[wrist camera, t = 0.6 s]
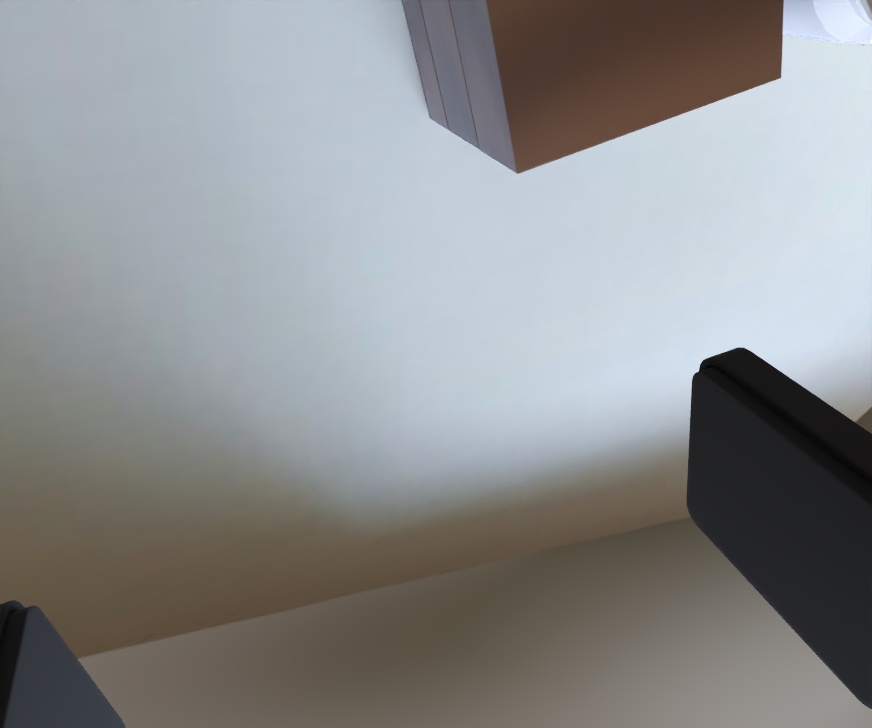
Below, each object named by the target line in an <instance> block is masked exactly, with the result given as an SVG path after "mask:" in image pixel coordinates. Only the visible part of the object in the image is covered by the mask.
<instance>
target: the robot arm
mask: <svg viewBox="0 0 872 728" xmlns="http://www.w3.org/2000/svg"><path fill="white" fill-rule="evenodd" d="M687 507H688V511H689V513H690V516H691V518H692V519H693V521H694V522H695V524H696V525H697V526H698V527H699V528H700V529H701V530H702V531H703V533H704V534H705V535H706V536H707V537H708V538H709V539H710V540H711V541H712V542H713V543H714V545H715V546H716V547H717V548H718V549H719V550H720V551H721V552H722V553H723V554H724V555H725V556H726V557H727V558H728V560H729V561H731V563H732V564H733V565H734V566H735V567H736V568H737V569H738V570H739V571H740V573H741V574H742V575H743V576H744V577H745V578H746V579H747V580H748V581H749V582H750V583H751V584H752V585H753V587H755V589H756V590H757V591H758V592H759V593H760V594H761V595H762V596H763V597H764V598H765V600H766V601H767V602H768V603H769V604H770V605H771V606H772V607H773V608H774V609H775V610H776V611H777V612H778V614H779V615H780V616H782V618H783V619H784V620H785V621H786V622H787V623H788V624H789V625H790V626H791V628H792V629H793V630H795V632H796V633H797V634H798V635H799V636H800V637H801V638H802V639H803V640H804V642H805V643H806V644H807V645H808V646H809V647H810V648H811V649H812V650H813V651H814V652H815V653H816V655H818V657H819V658H820V659H821V660H822V661H823V662H824V663H825V664H826V665H827V666H828V667H829V668H830V670H832V672H833V673H834V674H835V675H836V676H837V677H838V678H839V679H840V680H841V681H842V683H843V684H844V685H845V686H846V687H847V688H848V689H849V690H850V691H851V692H852V693H853V694H854V695H855V696H856V698H857V699H858V700H860V701H861V702H862V703H863V704H864V705H865V706H867V707H869V708H871V709H872V434H871V433H870V432H868V431H867V430H865V429H864V428H862V427H861V426H859V425H858V424H856V423H855V422H853V421H852V420H850V419H849V418H848V417H846V416H845V415H843V414H842V413H840V412H839V411H837V410H836V409H834V408H833V407H831V406H830V405H828V404H827V403H826V402H824V401H823V400H821V399H820V398H818V397H817V396H815V395H814V394H812V393H811V392H809V391H808V390H807V389H805V388H804V387H802V386H801V385H799V384H798V383H796V382H795V381H793V380H792V379H790V378H789V377H787V376H786V375H785V374H783V373H782V372H780V371H779V370H777V369H776V368H774V367H773V366H771V365H770V364H768V363H767V362H765V361H764V360H763V359H761V358H760V357H758V356H757V355H755V354H754V353H752V352H751V351H749V350H747V349H745V348H736V349H733V350H730V351H727V352H724V353H721V354H718V355H715V356H713V357H710V358H707V359H705V360H703V361H702V363H701V365H700V369H699V372H697V373H695V374H694V376H693V380H692V396H691V417H690V438H689V460H688V481H687ZM0 728H126V727H125V725H124V723H123V721H122V719H121V718H120V717H119V715H118V714H117V713H116V711H115V710H114V708H113V707H112V706H111V704H110V703H109V702H108V700H107V699H106V698H105V696H104V695H103V693H102V692H101V691H100V689H99V688H98V687H97V685H96V684H95V683H94V681H93V680H92V679H91V677H90V676H89V674H88V673H87V672H86V670H85V669H84V668H83V666H82V665H81V664H80V662H79V661H78V659H77V658H76V657H75V655H74V654H73V653H72V651H71V650H70V649H69V647H68V646H67V644H66V643H65V642H64V640H63V639H62V638H61V636H60V635H59V634H58V632H57V631H56V629H55V628H54V627H53V625H52V624H51V623H50V621H49V620H48V619H47V617H46V616H45V614H44V613H43V612H42V611H41V610H40V608H39V607H37V606H30V607H27V608H25V607H24V606H23V605H22V604H21V603H20V602H17V601H15V600H14V601H9V602H6V603H3V604H0Z"/></svg>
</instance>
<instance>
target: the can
mask: <svg viewBox="0 0 872 728" xmlns="http://www.w3.org/2000/svg"><path fill="white" fill-rule="evenodd" d="M783 35H787V36H795V37H802V38H810V39H817V40H825V41H832V42H840V43H848V44H858V45H866V44H869V43H872V0H784V9H783Z"/></svg>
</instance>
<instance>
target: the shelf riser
mask: <svg viewBox="0 0 872 728" xmlns="http://www.w3.org/2000/svg"><path fill="white" fill-rule="evenodd" d="M402 3H403V7H404V11H405V16H406V20H407V24H408V28H409V32H410V36H411V40H412V45H413V49H414V53H415V57H416V61H417V65H418V70H419V74H420V78H421V82H422V86H423V90H424V94H425V99H426V103H427V107H428V111H429V115H430V118H431V119H432V120H434V121H435V122H437V123H438V124H440V125H442V126H443V127H445V128H446V129H448V130H450V131H451V132H453V133H454V134H456V135H457V136H459V137H461V138H462V139H464V140H465V141H467V142H469V143H470V144H472V145H473V146H475V147H476V148H478V149H480V150H481V151H482V152H484V153H485V154H487V155H489V156H490V157H492V158H493V159H495V160H497V161H498V162H500V163H501V164H503V165H504V166H506V167H508V168H509V169H511V170H512V171H514V172H516V173H517V174H519V173H521V172H524V171H527V170H530V169H532V168H535V167H538V166H541V165H543V164H546V163H549V162H552V161H554V160H557V159H560V158H562V157H565V156H568V155H571V154H573V153H576V152H579V151H582V150H584V149H587V148H590V147H593V146H595V145H598V144H601V143H604V142H606V141H609V140H612V139H615V138H617V137H620V136H623V135H625V134H628V133H631V132H634V131H636V130H639V129H642V128H645V127H647V126H650V125H653V124H656V123H658V122H661V121H664V120H667V119H669V118H672V117H675V116H678V115H680V114H683V113H686V112H689V111H691V110H694V109H697V108H699V107H702V106H705V105H708V104H710V103H713V102H716V101H719V100H721V99H724V98H727V97H730V96H732V95H735V94H738V93H741V92H743V91H746V90H749V89H752V88H754V87H757V86H760V85H763V84H765V83H768V82H771V81H773V80H776V79H779V78H781V62H782V36H783V9H784V0H402Z"/></svg>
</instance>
